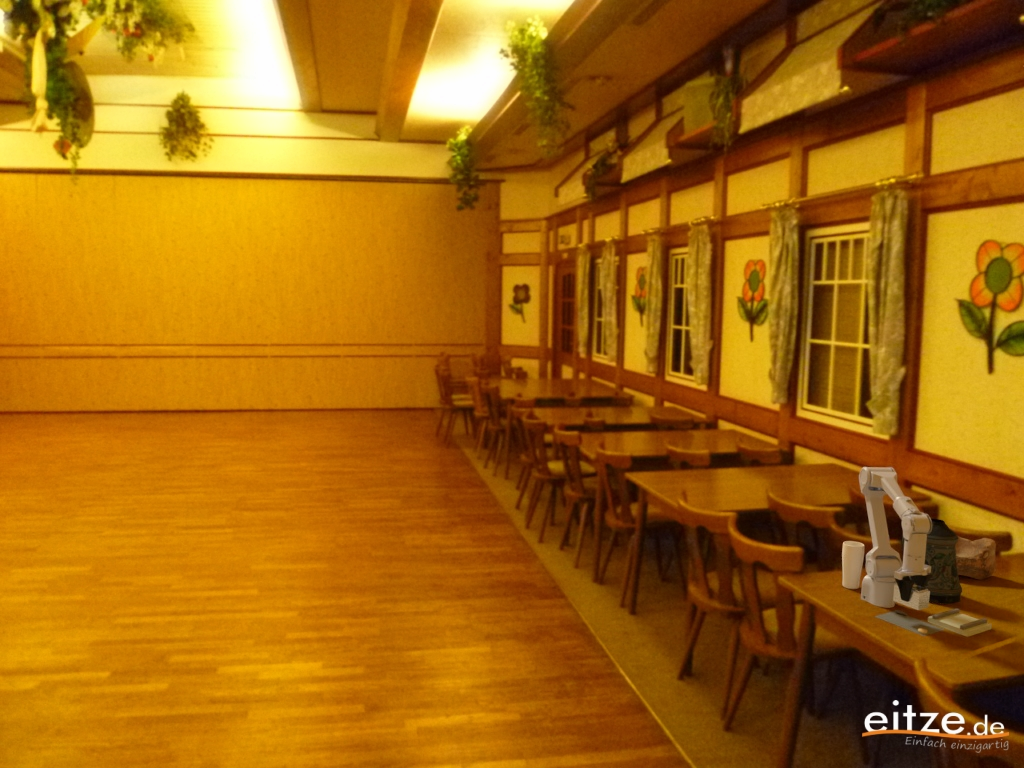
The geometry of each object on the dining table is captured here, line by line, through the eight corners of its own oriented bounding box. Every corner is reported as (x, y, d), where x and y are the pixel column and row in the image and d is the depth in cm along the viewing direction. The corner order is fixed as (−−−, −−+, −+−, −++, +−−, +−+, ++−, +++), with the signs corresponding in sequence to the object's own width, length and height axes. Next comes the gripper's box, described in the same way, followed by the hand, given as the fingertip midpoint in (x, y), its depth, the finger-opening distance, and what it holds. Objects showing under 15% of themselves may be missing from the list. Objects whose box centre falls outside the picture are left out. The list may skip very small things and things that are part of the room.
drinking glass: (855, 583, 275) (859, 540, 273) (865, 590, 268) (868, 546, 267) (836, 583, 275) (839, 540, 273) (845, 590, 268) (848, 546, 266)
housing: (893, 600, 241) (894, 580, 240) (903, 598, 243) (905, 577, 242) (918, 610, 234) (919, 589, 233) (928, 607, 236) (930, 586, 236)
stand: (927, 624, 240) (928, 613, 240) (951, 617, 246) (952, 606, 246) (966, 640, 230) (968, 628, 230) (990, 632, 236) (991, 620, 236)
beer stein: (956, 608, 254) (963, 531, 252) (890, 593, 266) (896, 520, 263) (965, 594, 267) (971, 520, 265) (901, 580, 279) (907, 510, 276)
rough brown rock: (912, 574, 289) (916, 534, 286) (924, 559, 302) (928, 521, 299) (986, 592, 274) (991, 550, 271) (995, 576, 287) (1000, 536, 284)
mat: (874, 619, 244) (874, 613, 243) (894, 613, 249) (895, 607, 248) (923, 639, 230) (924, 632, 230) (944, 633, 235) (945, 626, 235)
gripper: (911, 561, 230) (907, 607, 231) (942, 554, 237) (938, 599, 239) (889, 554, 236) (885, 599, 237) (919, 548, 243) (916, 591, 245)
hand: (910, 599), depth 238 cm, fingers closed on housing, 5 cm apart
